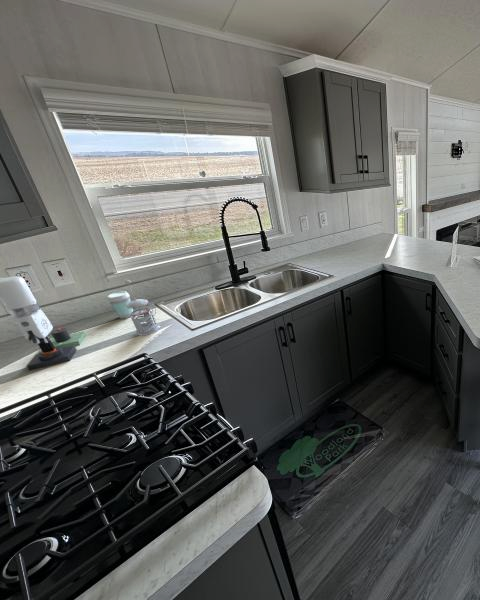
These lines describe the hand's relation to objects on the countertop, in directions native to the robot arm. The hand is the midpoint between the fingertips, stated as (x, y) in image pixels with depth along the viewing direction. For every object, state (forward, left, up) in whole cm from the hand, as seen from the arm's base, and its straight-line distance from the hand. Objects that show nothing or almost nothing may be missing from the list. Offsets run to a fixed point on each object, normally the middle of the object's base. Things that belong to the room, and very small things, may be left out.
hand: (49, 350), depth 129 cm
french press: (+31, +9, -5) cm, 32 cm away
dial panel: (0, +14, -4) cm, 15 cm away
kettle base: (0, 0, -4) cm, 4 cm away
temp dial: (0, +14, -2) cm, 14 cm away
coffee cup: (+19, +32, -5) cm, 37 cm away
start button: (0, 0, -2) cm, 2 cm away
